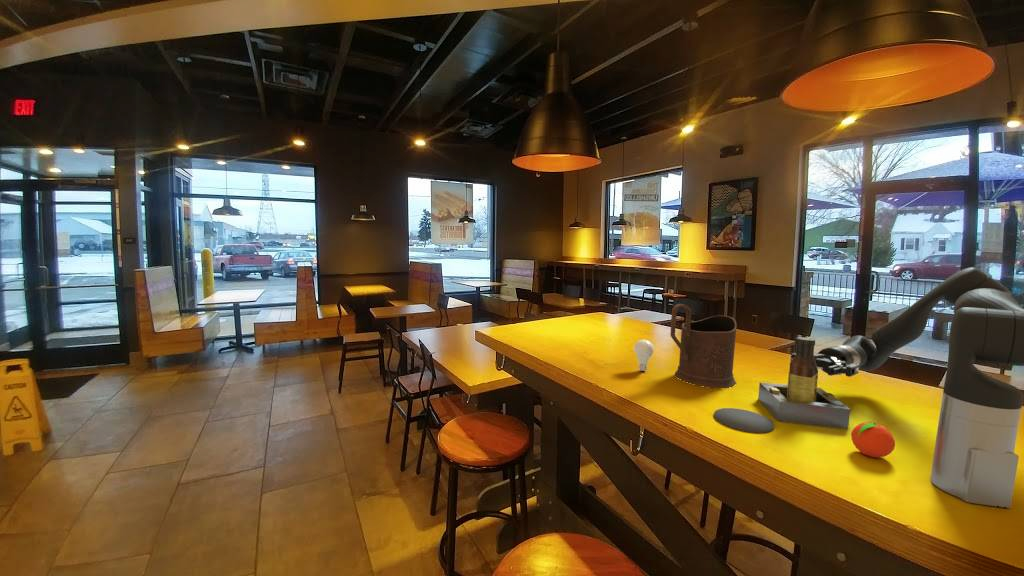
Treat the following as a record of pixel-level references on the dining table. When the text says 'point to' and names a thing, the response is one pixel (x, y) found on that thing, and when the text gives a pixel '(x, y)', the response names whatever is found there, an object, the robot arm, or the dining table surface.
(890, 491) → the dining table surface
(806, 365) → the sauce bottle
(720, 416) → the coaster
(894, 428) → the dining table surface
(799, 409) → the square ashtray
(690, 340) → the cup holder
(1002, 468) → the robot arm
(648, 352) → the lightbulb
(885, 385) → the dining table surface
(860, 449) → the red tomato
